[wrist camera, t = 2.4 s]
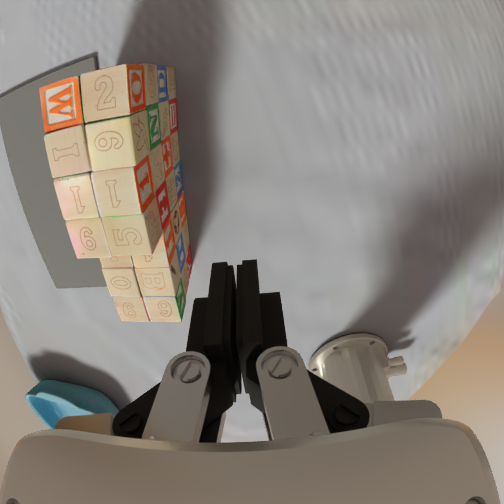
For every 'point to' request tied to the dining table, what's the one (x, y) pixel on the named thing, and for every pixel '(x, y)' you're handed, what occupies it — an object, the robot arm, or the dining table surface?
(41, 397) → the casserole dish
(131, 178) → the stack of blocks
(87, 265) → the mat
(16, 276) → the dining table surface
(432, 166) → the dining table surface
